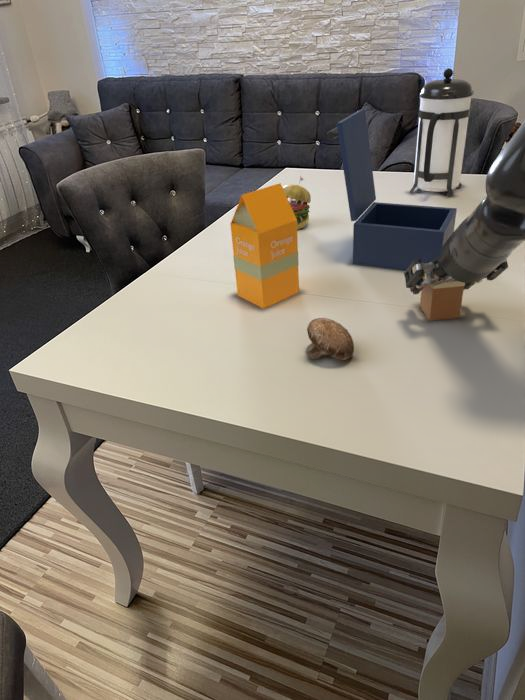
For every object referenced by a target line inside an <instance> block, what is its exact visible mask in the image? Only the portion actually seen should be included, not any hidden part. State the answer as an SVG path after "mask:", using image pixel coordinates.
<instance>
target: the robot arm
mask: <svg viewBox="0 0 525 700" xmlns="http://www.w3.org/2000/svg"><path fill="white" fill-rule="evenodd" d="M485 177H486V178H485V183H484V184H485V186H484V187H485V194H486V196H485V197H484V198H483V199H482V200H481V202H480V203H479V204H478V205H477V206H476V208H475V209H474V210H473V211H472V212H471V214H469V215H468V216H467V217H465V219H463V220H462V221H461V223H460V224H459V225H458V226H457V227H456V229H454V232H453V234H452V235H451V236H450V237H449V239H448V240H447V241H446V242H445V244H444V245H443V247H442V249H441V252H440V255H439V257H438V258H436V259H434V260H433V261H432V262H430V263H425V264H423V262H422V259H416V260H414V261H413V262H412V263H411V265H410V266H409V267H408V268H407V269H406V271H403V276H404V280H405V281H404V282H405V288H406V289H409V290H410V292H411V293H412V294H413V295H419V294H421V290H422V289H423V288H424V287H425V286H428V285H432V286H436V285H438V284H441V283H444V282H446V281H453V280H457V281H459V282H463V283H465V286H464V290H463V291H465V290H469V289H470V288H472V286H475V284H480V283H482V282H483V280H484V279H486V280H487V281H494V280H496V279H497V278H498V277H499V276H500V275H501V274H502V273H504V272H505V271H506V270H507V269H508V268H509V265H508V258H509V257H510V255H511V254H512V253H513V252H514V251H515V249H517V248H518V247H519V246H520V245H522V244H523V243H524V242H525V119H524V120H523V121H522V123H520V126H519V127H518V129H517V130H516V131H515V133H514V134H513V135H512V137H511V138H510V139H509V141H508V142H507V143H506V144H505V146H504V147H503V149H502V150H501V151H500V153H499V154H498V155H497V157H496V158H495V160H494V161H493V163H492V164H491V166H490V168H489V169H488V172H487V174H486V176H485ZM425 274H426V277H427V279H426V280H425V281H424V280H423V278H425ZM435 275H436V276H438V277H439V278H438V279H436V278H435Z"/></svg>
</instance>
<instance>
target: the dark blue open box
mask: <svg viewBox="0 0 525 700" xmlns="http://www.w3.org/2000/svg"><path fill="white" fill-rule="evenodd" d="M456 217H457V208H456V207H444V206H429V205H418V204H403V203H402V204H401V203H389V202H379V201H378V202H377V201H374V202H373V203H372V204H371V205H370V206H369V207H368V208H367V209H366V211H365V212H364V213H363V214H362V215H361V216H360V217H359V218H358V219H357V220H356V221H354V223H353V228H352V229H353V231H352V265H353V266H354V265H355V266H356V265H357V266H362V267H370V268H371V267H372V268H378V269H387V270H393V271H395V270H396V271H403V272H405V271H406V269H407V268H408V267H409V266H410V265H411V263H412V262H413V261H414V260H416V259H422V262H423V264H425V263H430V262H432V261H433V260H434V259H436V258H438V257H439V255H440V252H441V249H442V247H443V245H444V244H445V242H446V241H447V240H448V239H449V237H450V236H451V235H452V234H453V232H454V231H455V226H456V225H455V224H456Z"/></svg>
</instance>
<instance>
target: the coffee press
mask: <svg viewBox="0 0 525 700" xmlns="http://www.w3.org/2000/svg"><path fill="white" fill-rule="evenodd" d="M442 74H443V77H444V79H436V80H432V81H429V82H427V83H425V84H424V85H423V87H422V88H421V91H420V92H419V95H418V96H419V99H420V101H419V108H418V113H417V114H418V115H417V116H418V127H417V136H416V137H417V138H416V149H415V159H414V160H415V161H414V162H415V163H414V174H413V186H412V187H411V189H410V190H409V193H410V194H411V195H413V194H414V193H415V194H419V193H420V192H421V191H424V192H425V191H426V192H434V193H435V192H441V193H443V194H444V196H445V197H447V198H452V197H454V192H453V190H454V189H458V190H459V189H461V188H462V185H463V184H462V183H461V177H462V169H463V161H464V156H465V155H464V154H465V148H466V140H467V133H468V132H467V131H468V125H469V117H470V116H471V107H472V106H471V102H472V101H471V100H472V97H473V96H474V90H473V88H472V85H471V83H470V82H469V81H467V80H464V79H458V78H452V77H453V75H454V71H453V69H452V68H446V69H444V71H443V73H442Z"/></svg>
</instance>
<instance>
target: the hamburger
mask: <svg viewBox="0 0 525 700" xmlns="http://www.w3.org/2000/svg"><path fill="white" fill-rule="evenodd" d="M302 181H305V178H304V177H302V176H301V175H300V176H299V183H298V184H294V183H292V184H291V183H290V184H286V185H282V188H283V190H284V192H285V194H286V197H287V199H288V201H289V203H290V206H291V208H292V210H293V212H294V214H295V217H296V219H297V231H299V230H301V229H302V228H304V227H305V226H306V225H307V224H308V222H309V220H310V215H309V213H310V208H311V206H310V203H311V199H312V197H311V194H310V192H309V190H308V189H307V188H306V187H303V186H302V185H300V182H302ZM289 199H290V200H289Z"/></svg>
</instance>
